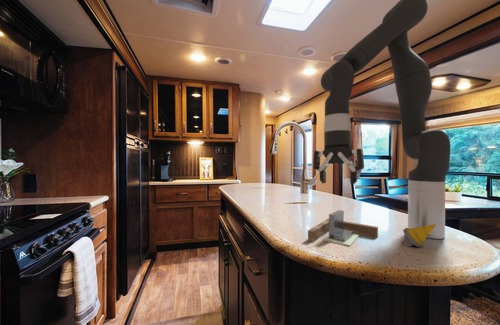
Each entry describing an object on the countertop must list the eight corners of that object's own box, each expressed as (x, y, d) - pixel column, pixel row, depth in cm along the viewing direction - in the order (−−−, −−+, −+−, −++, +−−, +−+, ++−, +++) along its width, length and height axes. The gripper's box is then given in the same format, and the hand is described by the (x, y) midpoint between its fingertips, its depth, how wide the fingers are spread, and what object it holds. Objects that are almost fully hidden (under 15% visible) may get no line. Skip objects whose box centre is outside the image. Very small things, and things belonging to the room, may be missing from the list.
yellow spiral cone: (406, 241, 64) (439, 223, 59) (412, 256, 59) (449, 237, 54) (392, 231, 64) (424, 212, 59) (397, 244, 59) (432, 225, 54)
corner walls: (328, 227, 76) (328, 218, 76) (377, 236, 67) (377, 226, 67) (307, 240, 62) (308, 230, 62) (366, 255, 53) (367, 243, 53)
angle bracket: (338, 231, 70) (338, 210, 70) (353, 235, 67) (353, 212, 67) (328, 238, 64) (329, 214, 64) (344, 242, 61) (345, 217, 61)
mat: (334, 231, 72) (334, 229, 72) (359, 235, 67) (359, 234, 67) (322, 240, 63) (322, 238, 63) (350, 246, 59) (350, 244, 59)
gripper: (365, 129, 65) (366, 184, 65) (318, 134, 73) (319, 181, 73) (360, 126, 59) (360, 186, 59) (309, 131, 68) (310, 183, 68)
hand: (337, 183), depth 66 cm, fingers open, 8 cm apart
